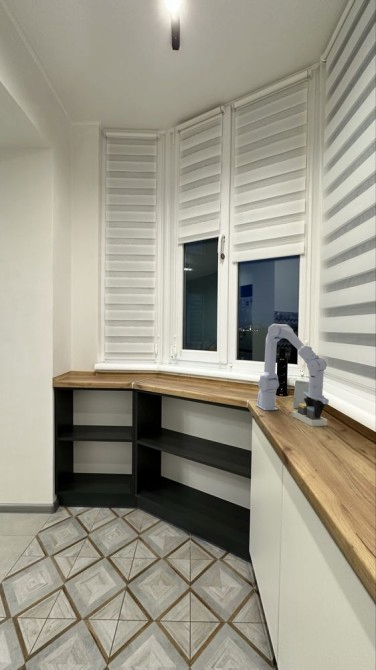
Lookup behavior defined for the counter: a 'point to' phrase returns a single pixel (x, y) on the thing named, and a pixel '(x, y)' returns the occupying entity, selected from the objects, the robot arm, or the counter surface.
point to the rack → (308, 421)
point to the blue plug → (311, 413)
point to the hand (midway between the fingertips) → (314, 415)
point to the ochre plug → (302, 409)
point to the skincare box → (300, 391)
